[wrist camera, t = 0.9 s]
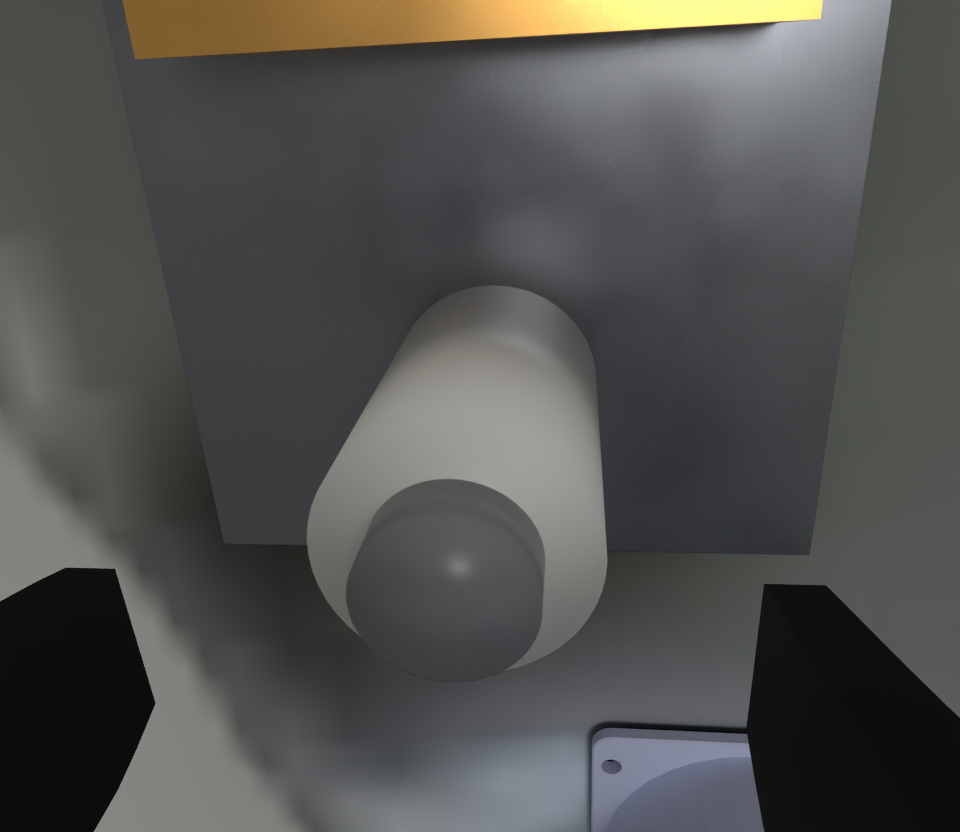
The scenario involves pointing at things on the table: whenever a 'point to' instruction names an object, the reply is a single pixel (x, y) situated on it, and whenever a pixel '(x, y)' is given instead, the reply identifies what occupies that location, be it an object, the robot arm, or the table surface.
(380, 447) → the canister
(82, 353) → the table surface
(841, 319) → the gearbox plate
